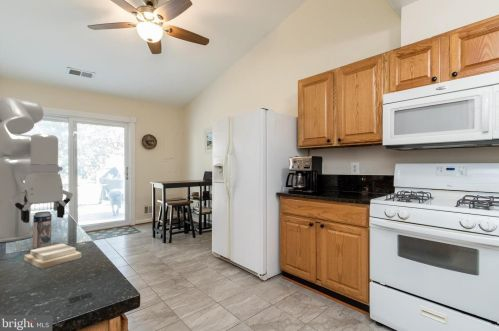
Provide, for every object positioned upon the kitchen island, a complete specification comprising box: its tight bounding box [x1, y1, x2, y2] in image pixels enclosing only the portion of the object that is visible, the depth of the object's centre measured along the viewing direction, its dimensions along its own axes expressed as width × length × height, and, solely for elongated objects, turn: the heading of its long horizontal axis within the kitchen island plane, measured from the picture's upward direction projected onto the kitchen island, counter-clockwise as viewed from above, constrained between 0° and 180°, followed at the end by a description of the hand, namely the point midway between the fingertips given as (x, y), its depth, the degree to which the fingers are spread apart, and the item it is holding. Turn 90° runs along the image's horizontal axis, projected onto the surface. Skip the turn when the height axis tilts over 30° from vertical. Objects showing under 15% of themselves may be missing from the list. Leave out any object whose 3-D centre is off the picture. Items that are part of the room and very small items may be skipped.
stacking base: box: [23, 243, 83, 270], centre depth 75 cm, size 12×10×3 cm
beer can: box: [32, 211, 53, 249], centre depth 85 cm, size 5×5×12 cm
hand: (43, 219), depth 85 cm, fingers open, 9 cm apart
